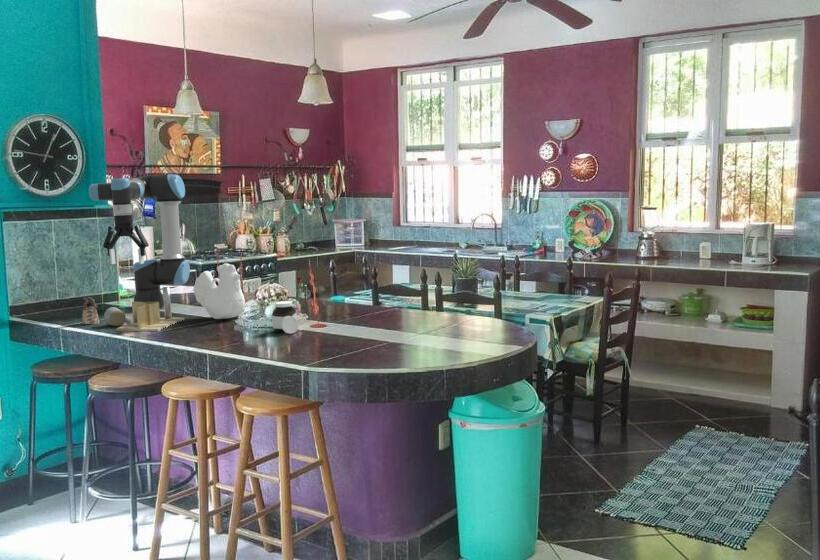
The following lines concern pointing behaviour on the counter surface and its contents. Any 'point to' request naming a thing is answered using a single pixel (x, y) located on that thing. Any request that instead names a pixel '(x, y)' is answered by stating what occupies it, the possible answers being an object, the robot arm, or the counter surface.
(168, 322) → the birch board
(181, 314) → the counter surface
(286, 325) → the spread jar
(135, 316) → the brass hinge
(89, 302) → the figurine
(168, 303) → the hinge pin
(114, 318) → the ceramic mug
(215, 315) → the decorative rooster
